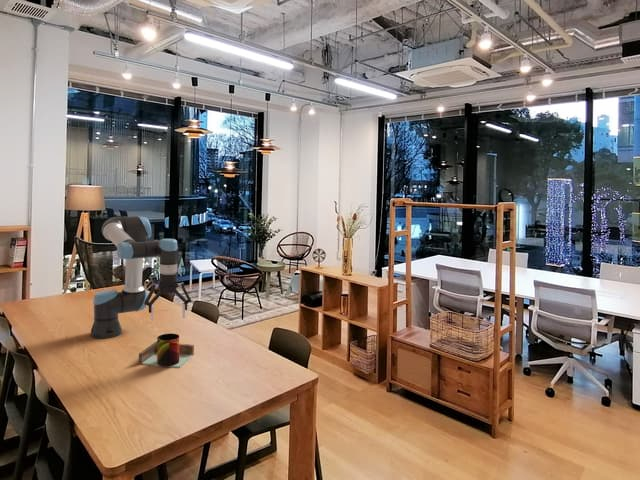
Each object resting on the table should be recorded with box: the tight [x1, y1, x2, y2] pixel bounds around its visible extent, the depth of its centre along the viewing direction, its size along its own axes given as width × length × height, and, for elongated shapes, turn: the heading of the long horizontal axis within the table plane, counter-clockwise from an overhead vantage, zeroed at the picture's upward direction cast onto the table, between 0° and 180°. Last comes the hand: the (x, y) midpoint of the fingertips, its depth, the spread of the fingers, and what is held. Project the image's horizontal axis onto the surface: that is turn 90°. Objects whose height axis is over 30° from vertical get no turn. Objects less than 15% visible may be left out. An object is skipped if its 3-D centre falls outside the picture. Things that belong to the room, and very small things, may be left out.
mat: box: [141, 352, 194, 369], centre depth 199 cm, size 18×14×1 cm
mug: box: [156, 333, 180, 367], centre depth 196 cm, size 10×14×12 cm
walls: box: [138, 341, 195, 365], centre depth 199 cm, size 20×16×5 cm
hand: (168, 318), depth 194 cm, fingers open, 13 cm apart
